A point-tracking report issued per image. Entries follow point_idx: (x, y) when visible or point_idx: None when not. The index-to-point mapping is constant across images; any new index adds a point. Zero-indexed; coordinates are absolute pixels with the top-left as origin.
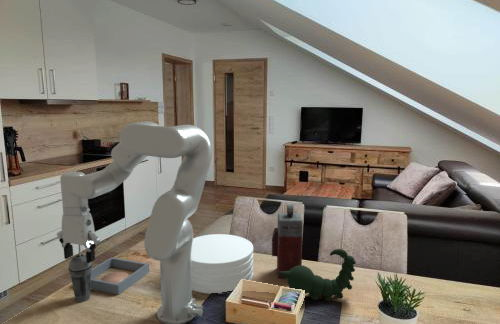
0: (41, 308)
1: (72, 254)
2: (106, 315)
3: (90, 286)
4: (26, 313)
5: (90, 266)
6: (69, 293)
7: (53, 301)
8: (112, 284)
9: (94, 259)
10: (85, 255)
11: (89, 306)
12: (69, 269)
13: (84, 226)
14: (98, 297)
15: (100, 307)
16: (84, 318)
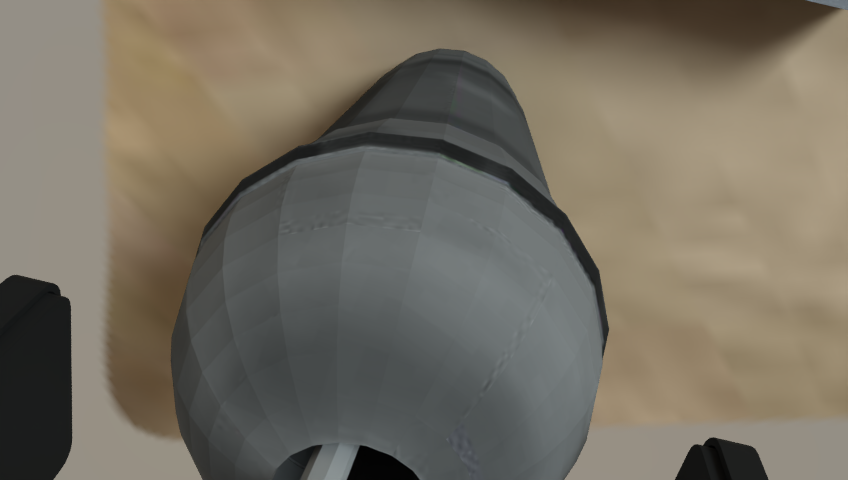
0: (170, 311)
1: (51, 334)
2: (830, 369)
3: (532, 140)
4: (113, 378)
5: (604, 348)
6: (226, 38)
7: (182, 202)
8: (811, 1)
9: (744, 458)
10: (449, 403)
11: (596, 253)
12: (287, 468)
13: None
14: (613, 84)
15: (720, 260)
16: (641, 413)
